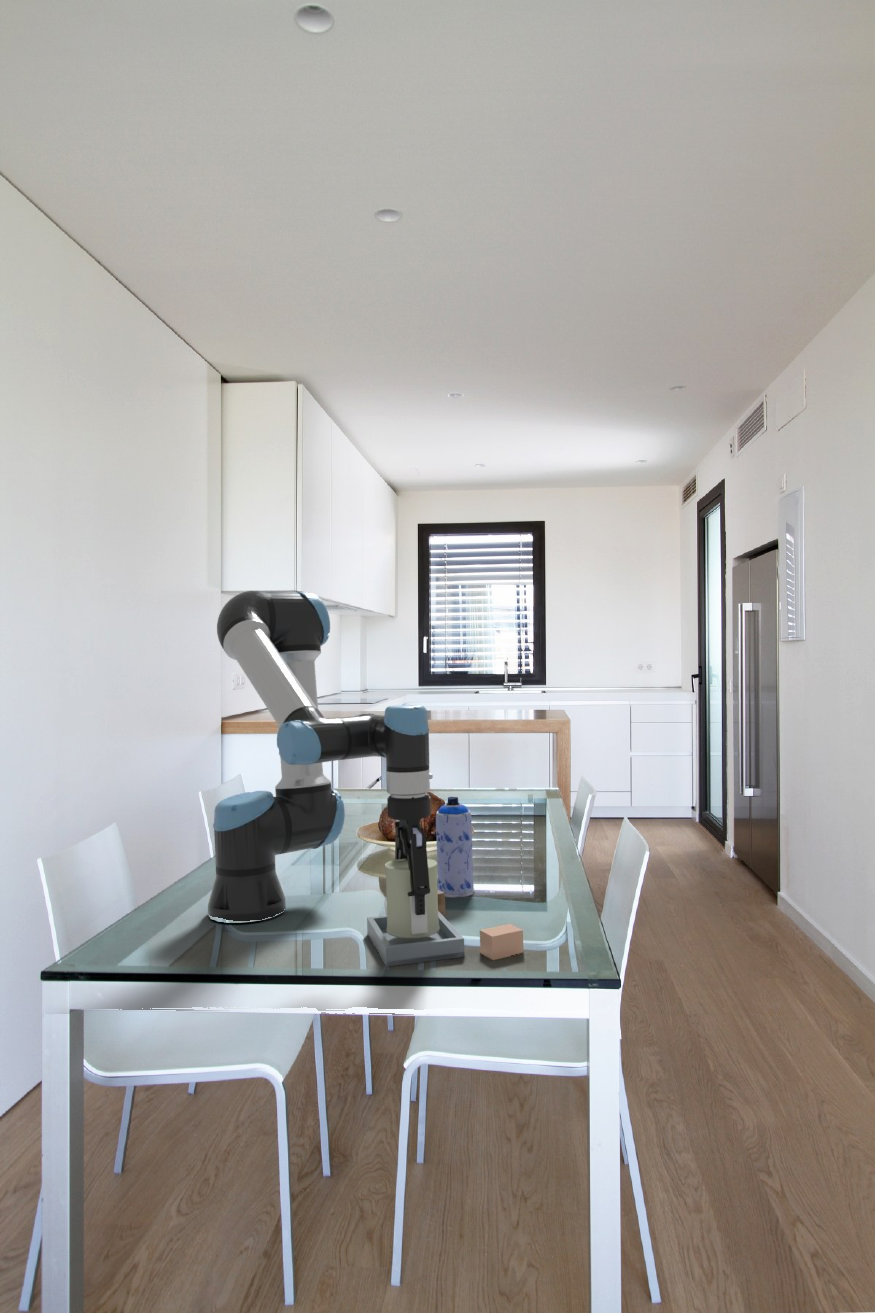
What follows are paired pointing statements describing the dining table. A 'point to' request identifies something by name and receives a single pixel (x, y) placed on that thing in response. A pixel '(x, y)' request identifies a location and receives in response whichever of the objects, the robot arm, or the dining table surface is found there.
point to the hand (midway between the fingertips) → (412, 924)
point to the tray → (415, 943)
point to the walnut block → (441, 902)
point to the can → (408, 899)
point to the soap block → (501, 941)
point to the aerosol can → (454, 849)
